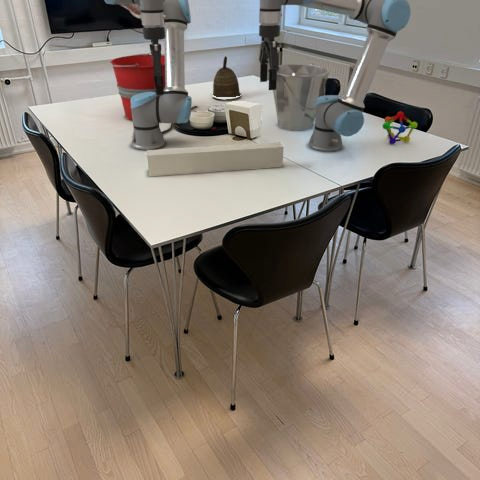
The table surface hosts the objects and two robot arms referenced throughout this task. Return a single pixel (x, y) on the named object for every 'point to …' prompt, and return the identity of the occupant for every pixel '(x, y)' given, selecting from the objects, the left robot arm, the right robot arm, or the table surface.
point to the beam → (214, 158)
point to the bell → (225, 82)
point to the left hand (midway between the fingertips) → (159, 89)
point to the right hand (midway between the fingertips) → (267, 85)
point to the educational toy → (398, 128)
